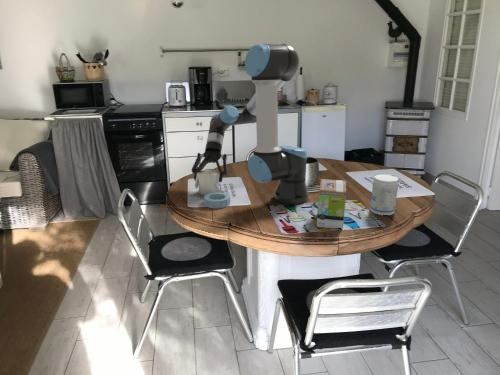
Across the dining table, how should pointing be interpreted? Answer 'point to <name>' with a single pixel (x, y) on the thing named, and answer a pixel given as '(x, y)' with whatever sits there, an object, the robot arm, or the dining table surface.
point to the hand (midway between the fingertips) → (206, 187)
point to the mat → (204, 195)
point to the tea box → (331, 203)
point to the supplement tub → (384, 194)
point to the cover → (207, 182)
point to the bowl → (217, 200)
